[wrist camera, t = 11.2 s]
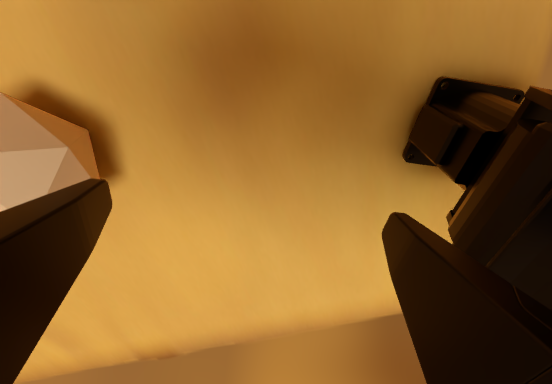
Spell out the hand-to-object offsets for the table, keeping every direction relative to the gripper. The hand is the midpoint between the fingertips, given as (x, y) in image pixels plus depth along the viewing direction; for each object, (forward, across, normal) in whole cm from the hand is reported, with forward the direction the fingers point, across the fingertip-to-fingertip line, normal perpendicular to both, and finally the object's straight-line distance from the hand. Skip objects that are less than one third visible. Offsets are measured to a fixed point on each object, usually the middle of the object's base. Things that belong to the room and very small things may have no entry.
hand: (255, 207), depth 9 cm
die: (+13, +15, +6) cm, 21 cm away
